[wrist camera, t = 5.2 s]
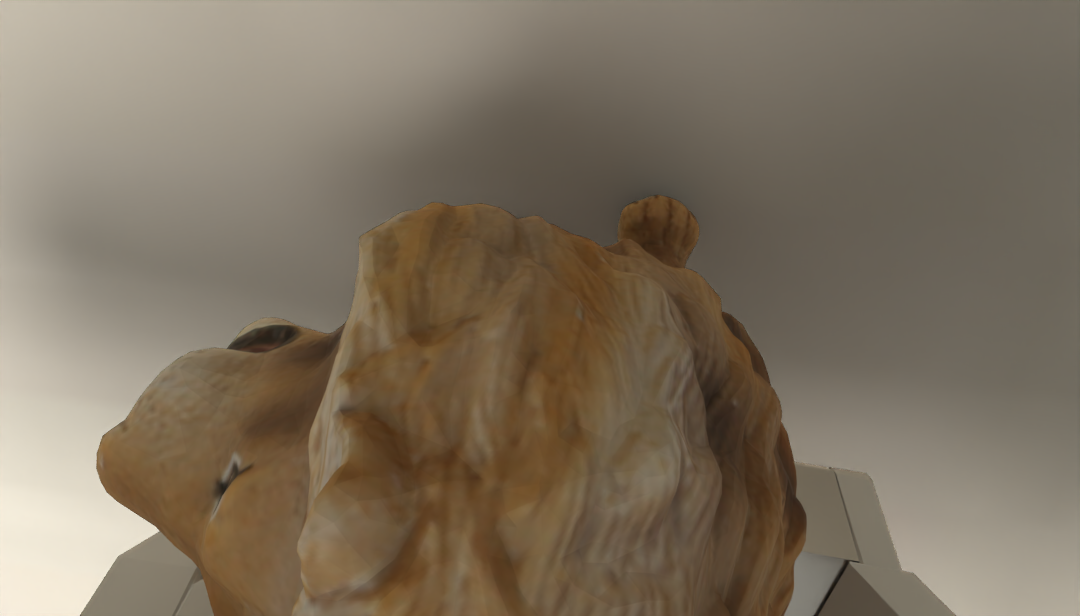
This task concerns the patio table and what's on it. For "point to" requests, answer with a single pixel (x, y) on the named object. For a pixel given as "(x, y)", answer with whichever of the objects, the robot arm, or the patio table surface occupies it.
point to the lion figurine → (480, 436)
